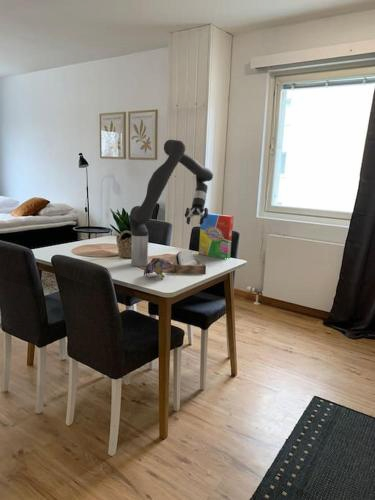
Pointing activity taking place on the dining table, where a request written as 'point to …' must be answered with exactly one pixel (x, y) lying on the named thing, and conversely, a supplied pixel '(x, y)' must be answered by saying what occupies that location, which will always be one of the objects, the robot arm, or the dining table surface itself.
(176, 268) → the hinge pocket
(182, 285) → the dining table surface
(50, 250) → the dining table surface
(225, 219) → the game box
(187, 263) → the grey rounded block
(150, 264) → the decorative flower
